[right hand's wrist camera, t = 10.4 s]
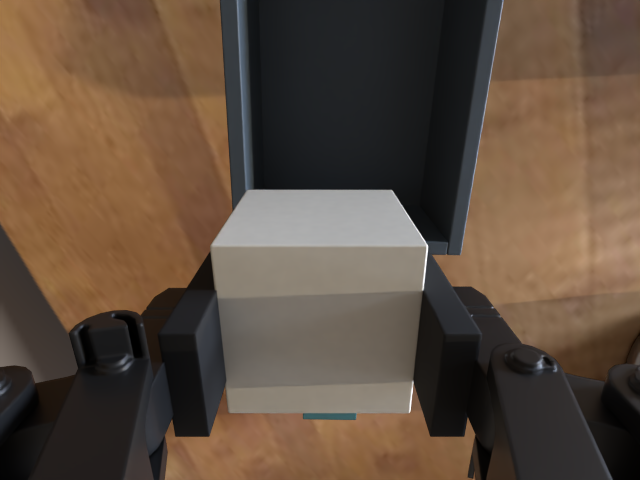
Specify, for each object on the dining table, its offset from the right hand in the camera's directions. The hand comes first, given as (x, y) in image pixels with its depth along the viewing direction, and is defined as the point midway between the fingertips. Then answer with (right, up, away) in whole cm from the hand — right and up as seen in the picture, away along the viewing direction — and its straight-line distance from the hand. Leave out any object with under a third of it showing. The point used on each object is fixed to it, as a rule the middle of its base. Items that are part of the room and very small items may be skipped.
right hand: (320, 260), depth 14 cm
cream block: (0, 0, 0) cm, 0 cm away
